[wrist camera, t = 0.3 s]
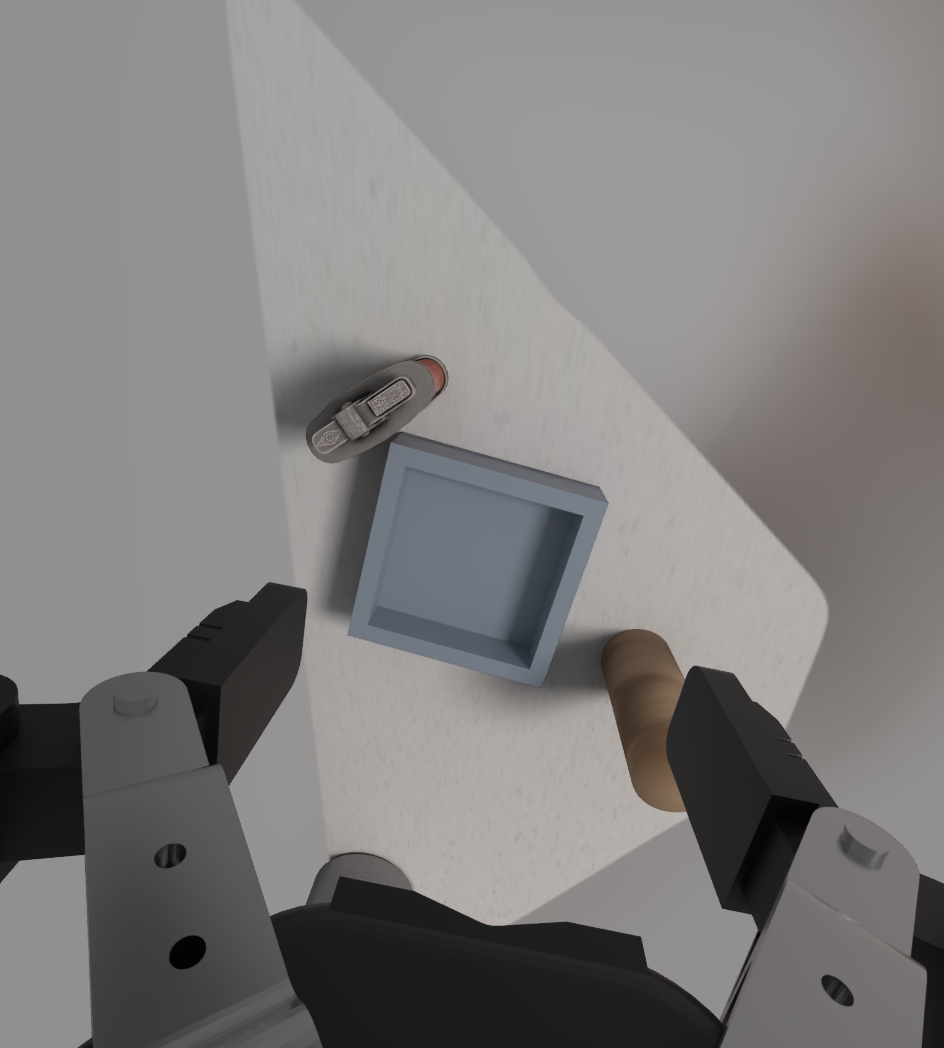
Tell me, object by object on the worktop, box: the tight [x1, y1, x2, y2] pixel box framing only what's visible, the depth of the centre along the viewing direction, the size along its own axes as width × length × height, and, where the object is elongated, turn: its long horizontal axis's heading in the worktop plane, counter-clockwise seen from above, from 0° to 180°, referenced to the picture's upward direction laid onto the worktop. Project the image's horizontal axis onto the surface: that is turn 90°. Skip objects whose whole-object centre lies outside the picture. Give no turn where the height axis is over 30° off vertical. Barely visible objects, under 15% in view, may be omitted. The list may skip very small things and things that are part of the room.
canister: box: [601, 629, 686, 812], centre depth 38 cm, size 5×5×12 cm
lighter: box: [306, 355, 448, 463], centre depth 34 cm, size 8×3×10 cm, turn 122°
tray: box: [348, 432, 609, 688], centre depth 40 cm, size 14×14×4 cm
